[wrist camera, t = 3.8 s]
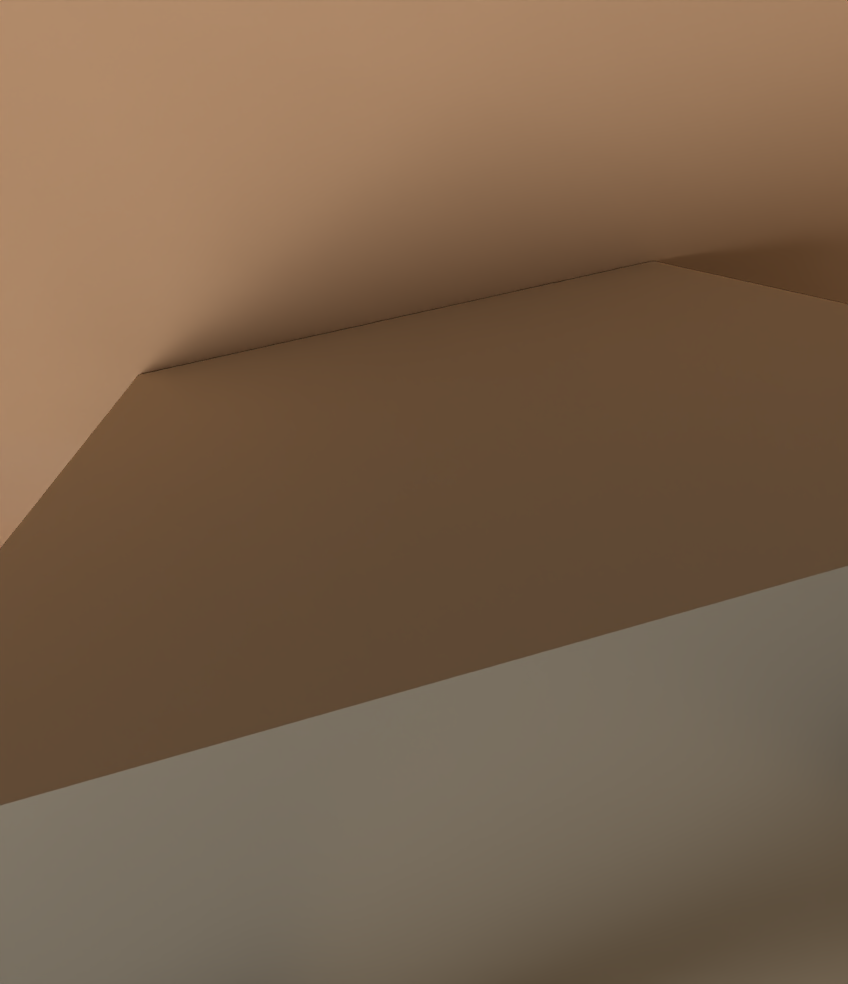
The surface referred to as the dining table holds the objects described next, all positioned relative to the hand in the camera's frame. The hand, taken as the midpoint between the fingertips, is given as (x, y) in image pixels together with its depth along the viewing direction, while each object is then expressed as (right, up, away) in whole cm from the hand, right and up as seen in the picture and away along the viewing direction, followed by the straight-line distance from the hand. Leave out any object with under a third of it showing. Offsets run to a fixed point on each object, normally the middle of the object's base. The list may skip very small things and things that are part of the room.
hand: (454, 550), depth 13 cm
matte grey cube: (0, 0, +1) cm, 1 cm away
